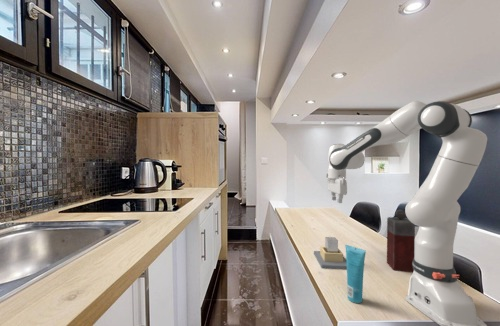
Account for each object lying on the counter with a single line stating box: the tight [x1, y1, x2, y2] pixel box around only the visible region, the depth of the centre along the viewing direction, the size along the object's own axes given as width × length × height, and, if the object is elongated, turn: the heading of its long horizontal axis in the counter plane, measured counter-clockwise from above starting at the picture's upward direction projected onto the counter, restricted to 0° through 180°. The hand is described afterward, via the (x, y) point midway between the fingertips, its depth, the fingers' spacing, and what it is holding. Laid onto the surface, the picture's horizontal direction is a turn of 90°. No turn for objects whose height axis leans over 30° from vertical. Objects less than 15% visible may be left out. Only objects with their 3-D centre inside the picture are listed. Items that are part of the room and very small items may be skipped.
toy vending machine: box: [386, 209, 416, 273], centre depth 114 cm, size 9×11×28 cm
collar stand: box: [313, 246, 347, 270], centre depth 119 cm, size 18×14×6 cm
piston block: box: [324, 236, 339, 253], centre depth 119 cm, size 5×5×10 cm
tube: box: [344, 244, 367, 304], centre depth 85 cm, size 7×5×19 cm, turn 47°
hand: (336, 201), depth 120 cm, fingers open, 8 cm apart
